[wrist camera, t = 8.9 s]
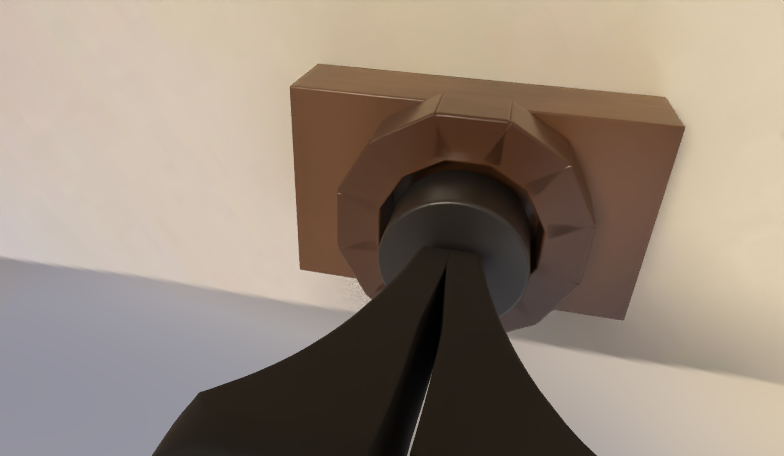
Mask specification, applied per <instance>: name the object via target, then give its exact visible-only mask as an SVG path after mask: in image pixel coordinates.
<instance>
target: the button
mask: <svg viewBox="0 0 784 456" xmlns="http://www.w3.org/2000/svg"><path fill="white" fill-rule="evenodd" d="M423 246H429V247H436V248H442V249H449V250H456V251H462V252H469V253H476V254H479V255H480V256H481V257H482V259H483V268H484V274H485V278H486V282H487V285H488V289H489V292H490V295H491V298H492V301H493V303H494V306H495V309H496V311H497V314H498V316H499V318H500V317H501V316H503V315H504V314H506V313H507V312H508V311H510V310H511V309H512V308H513V307H514V306H515V305H516V304H517V302H518V301H519V300H520V299H521V297H522V296H523V294H524V292H525V290H526V288H527V285H528V281H529V277H530V225H529V220H528V217H527V214H526V211H525V210H524V208H523V206H522V204H521V203H520V201H519V200H518V199H517V197H516V196H515V195H514V194H513V193H512V192H511V191H510V190H509V189H508V188H507V187H505V186H504V185H503V184H501V183H500V182H498V181H496V180H495V179H493V178H490V177H488V176H486V175H483V174H480V173H477V172H472V171H466V170H448V171H442V172H437V173H434V174H431V175H428V176H426V177H424V178H422V179H420V180H418V181H417V182H415V183H414V184H412V185H411V186H410V187H409V188H408V189H407V190H406V191H405V192H404V193H403V194H402V196H401V197H400V199H399V200H398V202H397V204H396V206H395V209H394V211H393V213H392V215H391V218H390V220H389V222H388V225H387V227H386V229H385V231H384V234H383V236H382V238H381V241H380V245H379V250H378V265H379V270H380V274H381V277H382V280H383V282H384V284H385V286H387V285H388V284H389V283H390V282H391V281H392V280H393V279H394V278H395V277H396V276H397V275H398V274H399V273H400V272H401V270H402V269H403V268H404V267H405V266H406V265H407V264H408V263H409V261H410V260H411V259H412V258H413V256H414V255H415V254H416V252H417V251H418V250H419V249H420V248H422V247H423Z"/></svg>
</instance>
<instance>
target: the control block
mask: <svg viewBox="0 0 784 456" xmlns="http://www.w3.org/2000/svg"><path fill="white" fill-rule="evenodd" d="M290 98H291V116H292V134H293V152H294V170H295V189H296V207H297V225H298V243H299V261H300V269H301V270H306V271H313V272H319V273H325V274H332V275H338V276H344V277H351V278H356V279H357V280H358V282H359V284H360V285H361V287H362V289H363V290H364V292H365V293H366V295H367V296H369V298H371V299H373V298H375V297H376V296H377V295H378V294H379V293H380V292H381V291H382V290H383V289H384V288H385V287H386V286H385V284H384V282H383V280H382V277H381V274H380V270H379V265H378V250H379V245H380V241H381V238H382V236H383V234H384V231H385V229H386V227H387V225H388V222H389V220H390V218H391V215H392V213H393V211H394V209H395V206H396V204H397V202H398V200H399V199H400V197H401V196H402V194H403V193H404V192H405V191H406V190H407V189H408V188H409V187H410V186H411V185H412V184H414V183H415V182H417V181H418V180H420V179H422V178H424V177H426V176H428V175H431V174H434V173H437V172H442V171H448V170H466V171H472V172H477V173H480V174H483V175H486V176H488V177H490V178H493V179H495V180H496V181H498V182H500V183H501V184H503V185H504V186H505V187H507V188H508V189H509V190H510V191H511V192H512V193H513V194H514V195H515V196H516V197H517V199H518V200H519V201H520V203H521V204H522V206H523V208H524V210H525V211H526V214H527V217H528V220H529V225H530V277H529V281H528V285H527V288H526V290H525V292H524V294H523V296H522V297H521V299H520V300H519V301H518V302H517V304H516V305H515V306H514V307H513V308H512V309H511V310H510V311H508V312H507V313H506V314H504V315H503V316H501V317H500V318H499V319H500V321H501V323H502V326H503V328H504V330H505V332H508V331H512V330H516V329H520V328H524V327H528V326H532V325H535V324H536V323H538V322H539V321H541V320H542V319H543V318H544V317H545V316H546V315H547V314H548V313H550V312H551V311H552V310H553V309H554V310H560V311H566V312H573V313H579V314H585V315H592V316H598V317H604V318H611V319H617V320H624V318H625V315H626V312H627V309H628V306H629V303H630V299H631V296H632V293H633V290H634V287H635V284H636V281H637V277H638V274H639V271H640V268H641V265H642V262H643V259H644V256H645V252H646V249H647V246H648V243H649V240H650V237H651V234H652V230H653V227H654V224H655V221H656V218H657V215H658V212H659V209H660V205H661V202H662V199H663V196H664V193H665V190H666V187H667V183H668V180H669V177H670V174H671V171H672V168H673V165H674V162H675V158H676V155H677V152H678V149H679V146H680V143H681V140H682V137H683V133H684V130H685V126H684V125H683V123H682V122H681V120H680V119H679V117H678V116H677V114H676V113H675V111H674V110H673V108H672V106H671V105H670V103H669V102H668V100H667V99H666V98H665V97H657V96H647V95H636V94H626V93H616V92H605V91H595V90H584V89H574V88H564V87H553V86H543V85H532V84H522V83H512V82H501V81H491V80H480V79H470V78H460V77H449V76H439V75H429V74H418V73H408V72H397V71H387V70H377V69H366V68H356V67H345V66H335V65H325V64H317V65H316V66H315V67H314V68H312V69H311V70H310V71H309V72H307V73H306V74H305V75H303V76H302V77H301V78H300V79H298V80H297V81H296V82H295V83H293V84H292V85H291V86H290Z"/></svg>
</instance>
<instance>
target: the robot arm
mask: <svg viewBox="0 0 784 456" xmlns="http://www.w3.org/2000/svg"><path fill="white" fill-rule="evenodd" d="M432 371H433V372H432ZM431 374H432V376H431ZM430 377H431V380H430ZM429 381H430V384H429ZM428 384H429V388H428V391H427V387H428ZM426 391H427V395H426V399H425V403H424V406H423V410H422V414H421V417H420V421H419V425H418V428H417V431H416V435H415V438H414V442H413V445H412V448H411V451H410V456H597V455H595V454H594V453H593V452H592V451H591V450H590V449H589V448H588V447H587V446H586V445H585V444H584V443H583V442H582V441H581V440H580V439H579V438H578V437H577V436H576V435H575V434H574V432H573V431H572V430H571V429H570V428H569V427H568V426H567V425H566V423H565V422H564V421H563V420H562V418H561V417H560V416H559V415H558V413H557V412H556V411H555V409H554V408H553V407H552V406H551V404H550V403H549V402H548V401H547V399H546V398H545V397H544V395H543V394H542V393H541V391H540V390H539V389H538V387H537V386H536V384H535V383H534V381H533V380H532V378H531V377H530V375H529V374H528V372H527V370H526V369H525V367H524V366H523V364H522V362H521V361H520V359H519V357H518V355H517V354H516V352H515V350H514V348H513V346H512V344H511V342H510V340H509V338H508V336H507V334H506V332H505V330H504V328H503V326H502V323H501V321H500V319H499V316H498V314H497V311H496V309H495V306H494V303H493V301H492V298H491V295H490V292H489V289H488V285H487V282H486V278H485V274H484V268H483V259H482V257H481V256H480V255H479V254H476V253H469V252H462V251H456V250H449V249H442V248H436V247H429V246H423V247H422V248H420V249H419V250H418V251H417V252H416V254H415V255H414V256H413V258H412V259H411V260H410V261H409V263H408V264H407V265H406V266H405V267H404V268H403V269H402V270H401V272H400V273H399V274H398V275H397V276H396V277H395V278H394V279H393V280H392V281H391V282H390V283H389V284H388V285H387V286H386V287H385V288H384V289H383V290H382V291H381V292H380V293H379V294H378V295H377V296H376V297H375V298H373V299H372V300H371V301H370V302H369V303H368V304H367V305H365V306H364V307H363V308H362V309H361V310H360V311H358V312H357V313H356V314H355V315H354V316H352V317H351V318H350V319H348V320H347V321H346V322H344V323H343V324H342V325H340V326H339V327H338V328H336V329H335V330H333V331H332V332H330V333H329V334H328V335H326V336H324V337H323V338H321V339H320V340H318V341H316V342H315V343H313V344H311V345H310V346H308V347H306V348H305V349H303V350H301V351H299V352H298V353H296V354H294V355H292V356H290V357H288V358H286V359H284V360H282V361H280V362H278V363H276V364H274V365H271V366H269V367H267V368H264V369H262V370H260V371H258V372H256V373H253V374H250V375H248V376H245V377H243V378H240V379H238V380H234V381H231V382H229V383H226V384H223V385H220V386H217V387H215V388H212V389H209V390H206V391H203V392H200V393H198V395H197V396H196V397H195V399H194V400H193V401H192V402H191V403H190V404H189V405H188V407H187V408H186V409H185V410H184V411H183V412H182V413H181V415H180V416H179V417H178V419H177V420H176V421H175V422H174V424H173V425H172V427H171V428H170V430H169V431H168V433H167V434H166V436H165V437H164V438H163V440H162V441H161V443H160V444H159V446H158V447H157V449H156V450H155V452H154V453H153V455H152V456H407V454H408V450H409V446H410V442H411V439H412V436H413V432H414V429H415V426H416V423H417V419H418V416H419V413H420V410H421V406H422V403H423V400H424V397H425V394H426Z"/></svg>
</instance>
